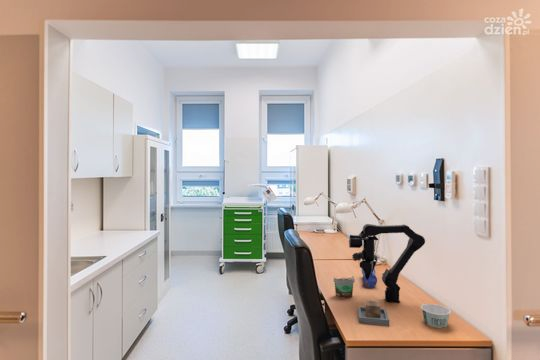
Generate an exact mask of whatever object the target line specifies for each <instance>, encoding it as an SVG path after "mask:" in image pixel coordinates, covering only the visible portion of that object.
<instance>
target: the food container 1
mask: <svg viewBox="0 0 540 360" xmlns="http://www.w3.org/2000/svg"><path fill="white" fill-rule="evenodd" d="M333 282H334V293H335V296H336V297H338V298H341V299H349V298H352V297H353V292H354V283H355V282H356V280H355V277H354V276H353V275H352V277H342V278H336V277H334V278H333Z"/></svg>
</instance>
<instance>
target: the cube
mask: <svg viewBox="0 0 540 360" xmlns="http://www.w3.org/2000/svg"><path fill="white" fill-rule="evenodd" d="M380 304H381V303H380V301H377V300H376V301H375V300H365V307H366V317H372V318H380V308H381V305H380Z"/></svg>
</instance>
